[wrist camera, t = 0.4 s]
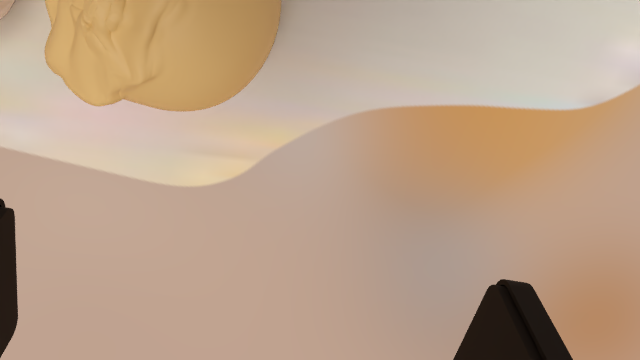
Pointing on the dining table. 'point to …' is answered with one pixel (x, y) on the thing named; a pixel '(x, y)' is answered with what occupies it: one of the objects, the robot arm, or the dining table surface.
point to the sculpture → (160, 49)
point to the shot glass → (5, 7)
